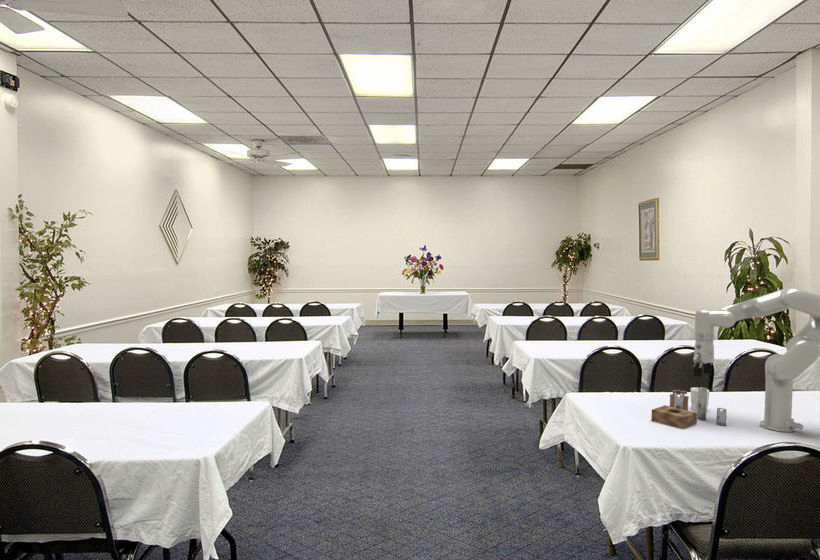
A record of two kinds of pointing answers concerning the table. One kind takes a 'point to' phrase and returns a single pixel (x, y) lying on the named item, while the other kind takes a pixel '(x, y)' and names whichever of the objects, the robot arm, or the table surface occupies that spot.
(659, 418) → the socket block
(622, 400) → the table surface
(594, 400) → the table surface
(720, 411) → the short pin
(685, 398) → the silver copper upright piece
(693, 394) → the white cup
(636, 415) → the table surface
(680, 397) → the medium pin
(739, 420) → the table surface
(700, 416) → the long pin
